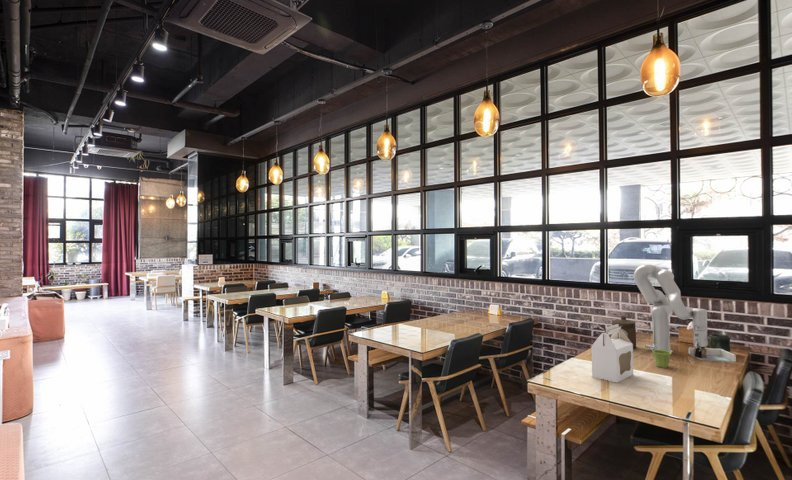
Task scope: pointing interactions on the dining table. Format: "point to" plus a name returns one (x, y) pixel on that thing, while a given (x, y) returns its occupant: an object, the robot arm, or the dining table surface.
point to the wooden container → (627, 329)
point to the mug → (719, 342)
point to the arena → (716, 355)
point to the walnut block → (702, 353)
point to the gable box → (612, 355)
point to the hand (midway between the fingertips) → (700, 356)
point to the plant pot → (662, 358)
